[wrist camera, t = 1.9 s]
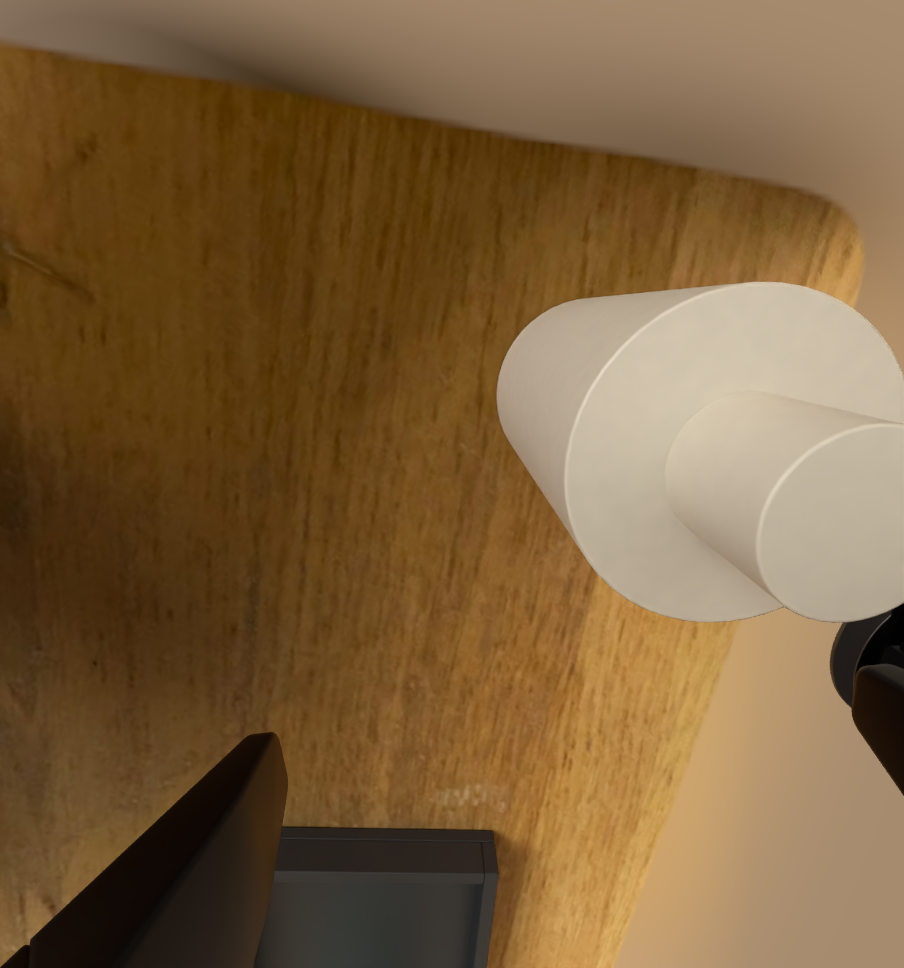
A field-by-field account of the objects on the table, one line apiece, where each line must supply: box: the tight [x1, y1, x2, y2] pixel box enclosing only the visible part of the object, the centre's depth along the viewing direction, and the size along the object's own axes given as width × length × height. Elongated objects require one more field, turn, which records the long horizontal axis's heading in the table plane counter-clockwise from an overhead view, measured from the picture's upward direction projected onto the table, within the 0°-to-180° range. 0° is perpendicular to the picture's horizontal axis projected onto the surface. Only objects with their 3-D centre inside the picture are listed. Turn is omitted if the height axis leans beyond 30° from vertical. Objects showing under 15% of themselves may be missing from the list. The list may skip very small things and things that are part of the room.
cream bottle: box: [497, 282, 904, 623], centre depth 13 cm, size 6×6×13 cm
